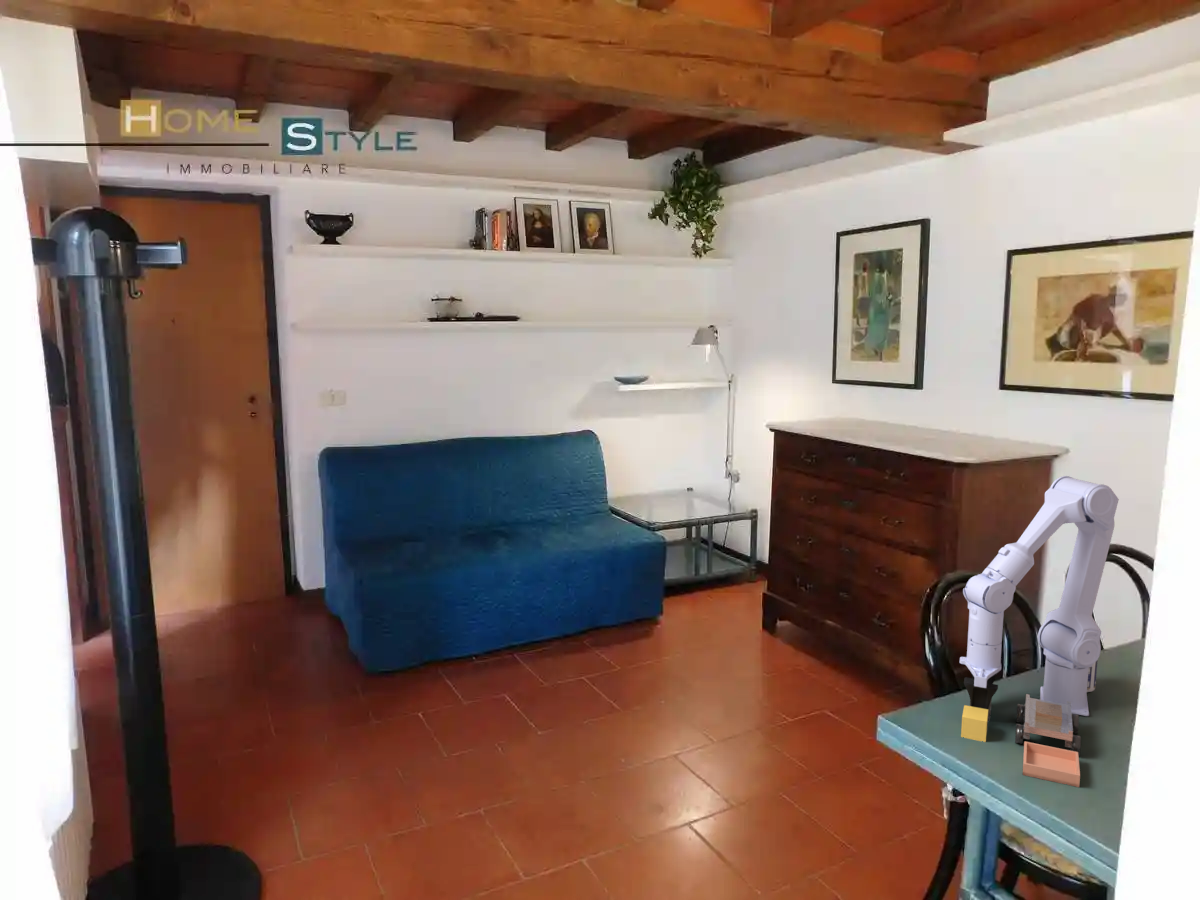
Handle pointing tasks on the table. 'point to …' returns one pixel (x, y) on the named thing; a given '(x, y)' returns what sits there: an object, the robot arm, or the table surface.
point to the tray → (1051, 764)
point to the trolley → (1048, 722)
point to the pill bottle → (1092, 677)
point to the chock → (974, 723)
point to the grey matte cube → (988, 710)
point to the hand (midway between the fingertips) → (980, 708)
